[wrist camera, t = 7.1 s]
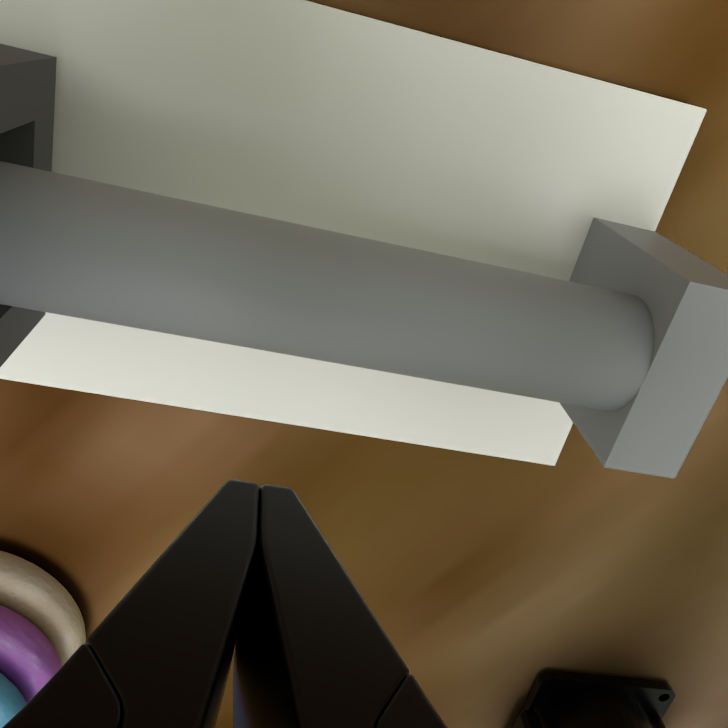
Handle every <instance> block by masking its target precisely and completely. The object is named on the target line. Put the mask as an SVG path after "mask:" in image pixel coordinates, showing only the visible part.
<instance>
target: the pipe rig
mask: <svg viewBox="0 0 728 728" xmlns="http://www.w3.org/2000/svg"><path fill="white" fill-rule="evenodd" d="M0 44H4V45H8V46H13V47H17V48H21V49H25V50H29V51H33V52H37V53H42V54H46V55H50V56H54V57H57V61H56V84H55V107H54V130H53V153H52V172H49V171H45V170H40V169H35V168H30V167H26V166H21V165H16V164H11V163H7V162H2V161H0V304H2V305H8V306H14V307H19V308H25V309H31V310H36V311H42V312H46V313H45V316H44V317H43V318H42V319H41V320H40V321H39V323H38V324H37V325H36V326H35V327H34V329H33V330H32V331H31V332H30V333H29V334H28V336H27V337H26V338H25V339H24V340H23V341H22V343H21V344H20V345H19V346H18V347H17V348H16V350H15V351H14V352H13V353H12V354H11V355H10V357H9V358H8V359H7V360H6V361H5V362H4V364H3V365H2V366H1V367H0V379H6V380H12V381H19V382H25V383H31V384H38V385H44V386H50V387H57V388H63V389H70V390H76V391H82V392H89V393H95V394H101V395H108V396H114V397H120V398H127V399H133V400H139V401H146V402H152V403H158V404H165V405H171V406H177V407H184V408H190V409H197V410H203V411H209V412H216V413H222V414H228V415H235V416H241V417H247V418H254V419H260V420H266V421H273V422H279V423H285V424H292V425H298V426H304V427H311V428H317V429H324V430H330V431H336V432H343V433H349V434H355V435H362V436H368V437H374V438H381V439H387V440H393V441H400V442H406V443H412V444H419V445H425V446H432V447H438V448H444V449H451V450H457V451H463V452H470V453H476V454H482V455H489V456H495V457H501V458H508V459H514V460H520V461H527V462H533V463H539V464H546V465H552V466H555V464H556V462H557V459H558V457H559V455H560V452H561V450H562V448H563V445H564V443H565V441H566V438H567V436H568V434H569V431H570V429H571V427H572V424H573V423H574V425H575V426H576V428H577V429H578V431H579V432H580V433H581V435H582V436H583V438H584V439H585V441H586V442H587V444H588V445H589V447H590V448H591V449H592V451H593V452H594V454H595V455H596V457H597V458H598V460H599V461H600V463H601V464H602V466H603V467H605V468H611V469H617V470H624V471H630V472H636V473H643V474H649V475H655V476H661V477H668V478H674V479H675V477H676V475H677V473H678V471H679V469H680V468H681V466H682V464H683V462H684V460H685V458H686V456H687V454H688V452H689V450H690V448H691V447H692V445H693V443H694V441H695V439H696V437H697V435H698V433H699V431H700V429H701V427H702V425H703V424H704V422H705V420H706V418H707V416H708V414H709V412H710V410H711V408H712V406H713V404H714V402H715V401H716V399H717V397H718V395H719V393H720V391H721V389H722V387H723V385H724V383H725V381H726V379H727V378H728V274H726V273H724V272H723V271H721V270H719V269H718V268H716V267H714V266H712V265H711V264H709V263H707V262H706V261H704V260H702V259H701V258H699V257H697V256H696V255H694V254H692V253H690V252H689V251H687V250H685V249H684V248H682V247H680V246H679V245H677V244H675V243H674V242H672V241H670V240H668V239H667V238H665V237H663V236H662V235H660V234H658V233H657V232H655V230H656V228H657V226H658V223H659V221H660V219H661V216H662V214H663V212H664V209H665V207H666V205H667V202H668V200H669V198H670V195H671V193H672V190H673V188H674V186H675V183H676V181H677V179H678V176H679V174H680V172H681V169H682V167H683V165H684V162H685V160H686V158H687V155H688V153H689V151H690V148H691V146H692V144H693V141H694V139H695V137H696V134H697V132H698V130H699V127H700V125H701V123H702V120H703V118H704V116H705V113H706V111H707V109H704V108H700V107H697V106H693V105H689V104H685V103H682V102H678V101H674V100H671V99H667V98H663V97H660V96H656V95H652V94H649V93H645V92H641V91H638V90H634V89H630V88H627V87H623V86H619V85H615V84H612V83H608V82H604V81H601V80H597V79H593V78H590V77H586V76H582V75H579V74H575V73H571V72H568V71H564V70H560V69H557V68H553V67H549V66H546V65H542V64H538V63H534V62H531V61H527V60H523V59H520V58H516V57H512V56H509V55H505V54H501V53H498V52H494V51H490V50H487V49H483V48H479V47H476V46H472V45H468V44H464V43H461V42H457V41H453V40H450V39H446V38H442V37H439V36H435V35H431V34H428V33H424V32H420V31H417V30H413V29H409V28H406V27H402V26H398V25H395V24H391V23H387V22H383V21H380V20H376V19H372V18H369V17H365V16H361V15H358V14H354V13H350V12H347V11H343V10H339V9H336V8H332V7H328V6H325V5H321V4H317V3H313V2H310V1H306V0H0Z"/></svg>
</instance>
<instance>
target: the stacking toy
mask: <svg viewBox="0 0 728 728" xmlns="http://www.w3.org/2000/svg"><path fill="white" fill-rule="evenodd" d="M85 642H86V633H85V625H84V621H83V617H82V615H81V612H80V610H79V608H78V606H77V604H76V602H75V601H74V599H73V598H72V596H71V595H70V594H69V593H68V591H67V590H66V589H65V588H64V587H63V586H62V585H61V584H60V583H59V582H58V581H57V580H56V579H55V578H54V577H52V576H51V575H50V574H48V573H47V572H46V571H44V570H43V569H41V568H40V567H38V566H36V565H35V564H33V563H31V562H29V561H27V560H25V559H23V558H21V557H18V556H15V555H13V554H10V553H7V552H4V551H0V728H2V727H3V726H4V725H5V724H6V723H8V722H9V721H10V720H11V719H12V718H13V717H14V716H15V715H16V714H17V713H18V712H19V711H20V710H21V709H22V708H23V707H24V706H25V705H26V704H27V703H28V702H29V701H30V700H31V699H32V698H33V697H34V696H35V695H36V694H37V693H38V692H39V691H40V690H41V689H42V687H43V686H44V685H45V684H46V683H47V682H48V681H49V680H50V679H51V678H52V677H53V676H54V675H55V674H56V673H57V672H58V671H59V669H60V668H61V667H62V666H63V665H64V664H65V663H66V662H67V660H68V659H69V658H70V657H71V656H72V655H73V654H74V652H75V651H76V650H77V649H78V648H79V647H80V646H81V645H83V644H85Z"/></svg>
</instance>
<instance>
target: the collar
mask: <svg viewBox="0 0 728 728" xmlns="http://www.w3.org/2000/svg"><path fill="white" fill-rule="evenodd" d="M56 61H57V57H54V56H50V55H46V54H42V53H37V52H33V51H29V50H25V49H21V48H17V47H13V46H8V45H4V44H0V161H2V162H7V163H11V164H16V165H21V166H26V167H30V168H35V169H40V170H45V171H49V172H52V153H53V130H54V107H55V84H56ZM45 313H46V312H42V311H36V310H31V309H25V308H19V307H14V306H8V305H2V304H0V367H1V366H2V365H3V364H4V362H5V361H6V360H7V359H8V358H9V357H10V355H11V354H12V353H13V352H14V351H15V350H16V348H17V347H18V346H19V345H20V344H21V343H22V341H23V340H24V339H25V338H26V337H27V336H28V334H29V333H30V332H31V331H32V330H33V329H34V327H35V326H36V325H37V324H38V323H39V321H40V320H41V319H42V318H43V317H44V316H45Z"/></svg>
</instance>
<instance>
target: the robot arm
mask: <svg viewBox="0 0 728 728" xmlns="http://www.w3.org/2000/svg"><path fill="white" fill-rule="evenodd" d="M234 647H235V651H234ZM233 652H234V670H233V728H447V726H446V725H445V723H444V722H443V720H442V719H441V718H440V716H439V715H438V713H437V712H436V710H435V709H434V707H433V706H432V704H431V703H430V701H429V700H428V698H427V697H426V695H425V694H424V692H423V691H422V689H421V688H420V686H419V684H418V683H417V681H416V680H415V678H414V677H413V676H412V675H408V674H409V670H408V668H407V666H406V665H405V663H404V662H403V660H402V658H401V657H400V655H399V654H398V652H397V651H396V649H395V648H394V646H393V644H392V643H391V641H390V640H389V638H388V637H387V635H386V634H385V632H384V630H383V629H382V627H381V626H380V624H379V623H378V621H377V620H376V618H375V616H374V615H373V613H372V612H371V610H370V609H369V607H368V606H367V604H366V602H365V601H364V599H363V598H362V596H361V595H360V593H359V592H358V590H357V588H356V587H355V585H354V584H353V582H352V581H351V579H350V578H349V576H348V574H347V573H346V571H345V570H344V568H343V567H342V565H341V564H340V562H339V560H338V559H337V557H336V556H335V554H334V553H333V551H332V550H331V548H330V546H329V545H328V543H327V542H326V540H325V539H324V537H323V535H322V534H321V532H320V531H319V529H318V528H317V526H316V525H315V523H314V521H313V520H312V518H311V517H310V515H309V514H308V512H307V511H306V509H305V507H304V506H303V504H302V503H301V501H300V500H299V498H298V497H297V495H296V493H295V492H294V491H293V490H292V489H291V488H288V487H281V486H274V485H267V484H266V485H262V486H261V487H260V488H259V486H258V484H256V483H253V482H246V481H239V480H228V481H227V482H226V483H225V484H224V485H223V486H222V487H221V488H220V489H219V490H218V491H217V493H216V494H215V495H214V496H213V497H212V498H211V499H210V500H209V502H208V503H207V504H206V505H205V506H204V507H203V508H202V510H201V511H200V512H199V513H198V514H197V515H196V516H195V517H194V519H193V520H192V521H191V522H190V523H189V524H188V525H187V526H186V528H185V529H184V530H183V531H182V532H181V533H180V534H179V535H178V537H177V538H176V539H175V540H174V541H173V542H172V543H171V545H170V546H169V547H168V548H167V549H166V550H165V551H164V552H163V554H162V555H161V556H160V557H159V558H158V559H157V560H156V561H155V563H154V564H153V565H152V566H151V567H150V568H149V569H148V571H147V572H146V573H145V574H144V575H143V576H142V577H141V578H140V580H139V581H138V582H137V583H136V584H135V585H134V586H133V587H132V589H131V590H130V591H129V592H128V593H127V594H126V595H125V596H124V598H123V599H122V600H121V601H120V602H119V603H118V604H117V606H116V607H115V608H114V609H113V610H112V611H111V612H110V613H109V615H108V616H107V617H106V618H105V619H104V620H103V621H102V622H101V624H100V625H99V626H98V627H97V628H96V629H95V630H94V632H93V633H92V634H91V635H90V636H89V637H88V638H87V640H86V642H85V644H83V645H81V646H80V647H79V648H78V649H77V650H76V651H75V652H74V654H73V655H72V656H71V657H70V658H69V659H68V660H67V662H66V663H65V664H64V665H63V666H62V667H61V668H60V669H59V671H58V672H57V673H56V674H55V675H54V676H53V677H52V678H51V679H50V680H49V681H48V682H47V683H46V684H45V685H44V686H43V687H42V689H41V690H40V691H39V692H38V693H37V694H36V695H35V696H34V697H33V698H32V699H31V700H30V701H29V702H28V703H27V704H26V705H25V706H24V707H23V708H22V709H21V710H20V711H19V712H18V713H17V714H16V715H15V716H14V717H13V718H12V719H11V720H10V721H9V722H8V723H6V724H5V725H4V726H3V727H2V728H215V725H216V721H217V717H218V713H219V709H220V706H221V702H222V698H223V694H224V690H225V686H226V682H227V678H228V674H229V670H230V665H231V661H232V657H233ZM674 697H675V693H674V691H673V690H672V688H671V686H670V685H669V684H668V683H665V682H656V681H646V680H636V679H625V678H615V677H605V676H595V675H585V674H575V673H565V672H554V671H547V672H544V673H542V674H541V675H539V677H538V678H537V680H536V682H535V684H534V686H533V688H532V690H531V692H530V694H529V696H528V698H527V700H526V702H525V704H524V706H523V708H522V710H521V712H520V714H519V716H518V718H517V720H516V722H515V724H514V726H513V728H666V727H665V726H664V724H663V722H662V720H661V719H662V717H663V715H664V714H665V712H666V711H667V709H668V707H669V706H670V704H671V703H672V701H673V699H674Z"/></svg>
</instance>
